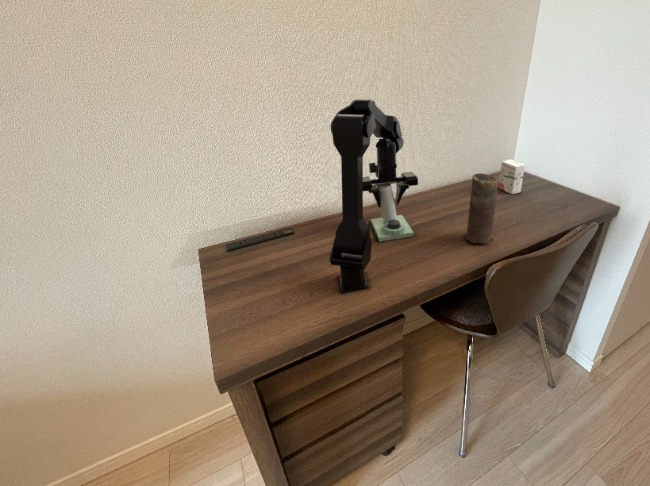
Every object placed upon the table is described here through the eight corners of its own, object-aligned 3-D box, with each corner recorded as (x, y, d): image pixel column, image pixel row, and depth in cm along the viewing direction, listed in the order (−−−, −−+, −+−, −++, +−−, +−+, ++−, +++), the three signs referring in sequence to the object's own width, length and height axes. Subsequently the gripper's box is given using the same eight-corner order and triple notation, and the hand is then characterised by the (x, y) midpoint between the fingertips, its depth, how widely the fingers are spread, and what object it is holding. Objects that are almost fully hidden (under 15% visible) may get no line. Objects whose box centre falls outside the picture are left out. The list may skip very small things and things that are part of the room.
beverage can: (395, 221, 104) (389, 188, 98) (381, 222, 105) (374, 188, 99) (398, 214, 108) (392, 181, 102) (384, 215, 109) (378, 182, 103)
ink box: (497, 187, 135) (500, 160, 130) (506, 185, 137) (510, 158, 132) (511, 194, 128) (516, 166, 123) (521, 192, 130) (525, 164, 125)
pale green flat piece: (413, 236, 100) (413, 228, 98) (379, 242, 97) (379, 233, 96) (402, 218, 111) (402, 210, 110) (371, 222, 109) (370, 214, 107)
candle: (473, 230, 103) (479, 170, 93) (495, 237, 98) (503, 175, 89) (461, 240, 97) (467, 177, 88) (484, 248, 93) (491, 183, 84)
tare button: (401, 229, 99) (401, 224, 98) (389, 230, 98) (389, 225, 97) (398, 223, 102) (397, 218, 101) (387, 225, 101) (386, 220, 100)
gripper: (408, 150, 106) (408, 193, 113) (352, 155, 102) (355, 200, 109) (419, 159, 97) (418, 206, 104) (357, 165, 92) (361, 213, 99)
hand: (388, 206), depth 104 cm, fingers closed on beverage can, 6 cm apart
